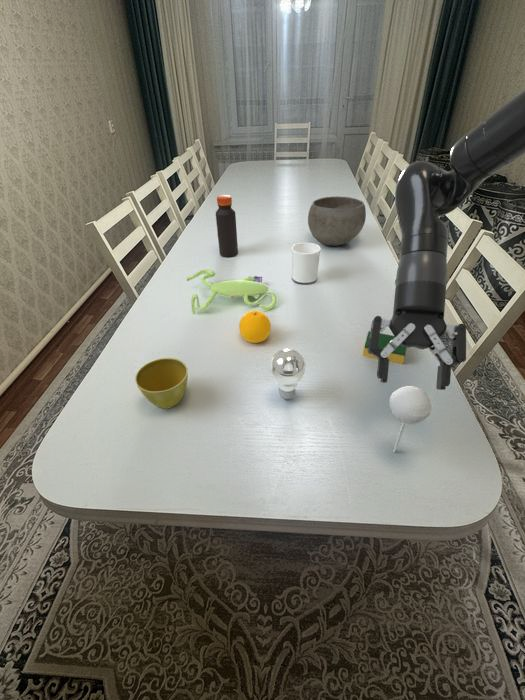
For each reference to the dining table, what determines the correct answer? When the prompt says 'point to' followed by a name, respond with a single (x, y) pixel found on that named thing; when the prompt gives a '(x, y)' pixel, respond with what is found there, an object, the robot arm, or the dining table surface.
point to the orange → (255, 326)
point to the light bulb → (287, 371)
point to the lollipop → (409, 407)
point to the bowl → (336, 219)
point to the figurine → (233, 289)
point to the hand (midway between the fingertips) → (411, 386)
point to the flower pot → (163, 381)
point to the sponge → (383, 341)
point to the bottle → (226, 227)
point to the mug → (305, 262)
